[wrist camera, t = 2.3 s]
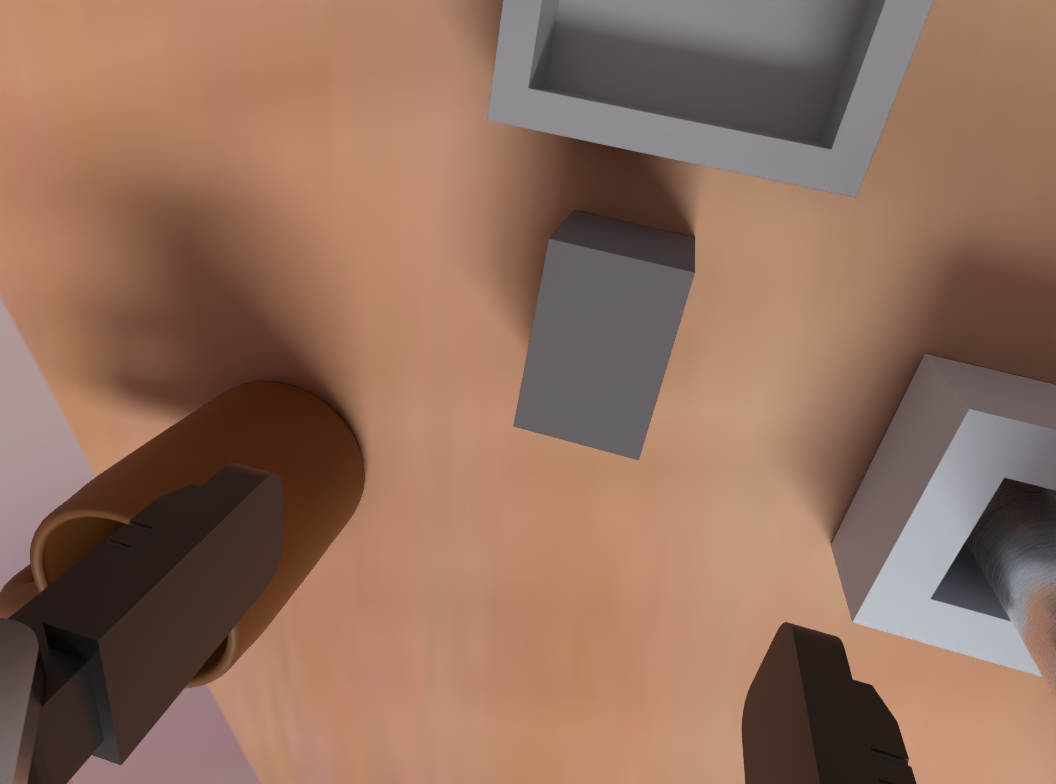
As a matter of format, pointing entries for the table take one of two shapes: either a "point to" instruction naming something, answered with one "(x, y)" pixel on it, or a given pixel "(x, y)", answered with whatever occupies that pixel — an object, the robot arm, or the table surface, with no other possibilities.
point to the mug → (194, 458)
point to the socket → (944, 507)
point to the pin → (1022, 564)
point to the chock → (604, 331)
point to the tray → (712, 79)
